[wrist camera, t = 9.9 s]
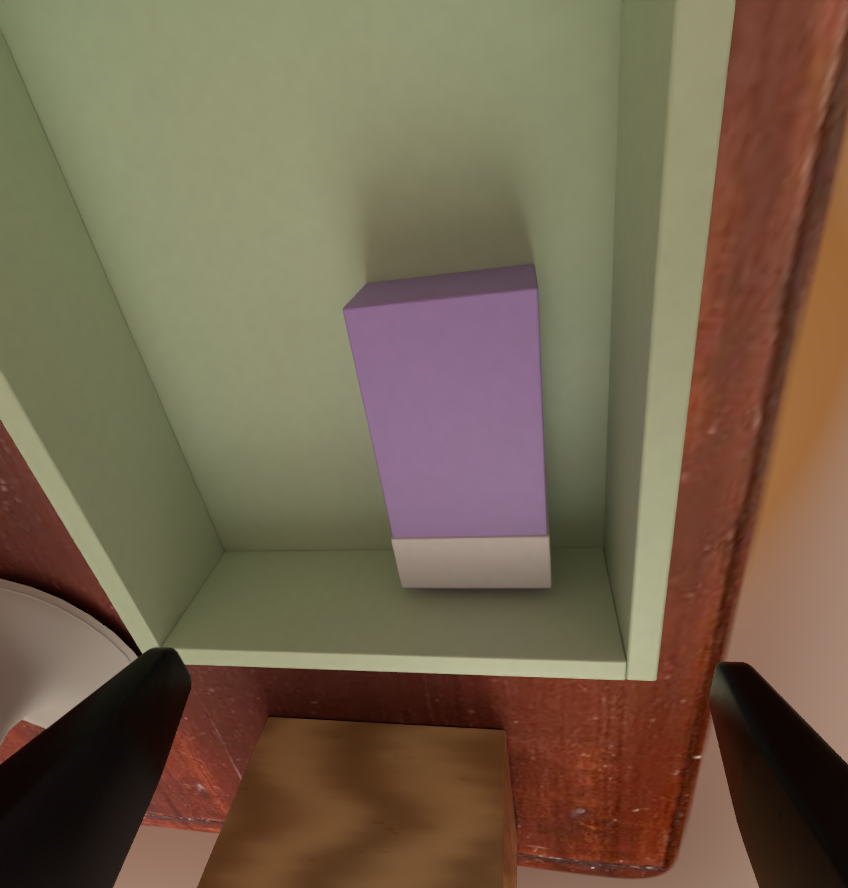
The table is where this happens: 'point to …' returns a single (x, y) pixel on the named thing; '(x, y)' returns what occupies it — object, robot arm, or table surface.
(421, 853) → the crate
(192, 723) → the table surface
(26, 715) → the chalice
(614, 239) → the tray
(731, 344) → the table surface
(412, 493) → the chocolate bar
